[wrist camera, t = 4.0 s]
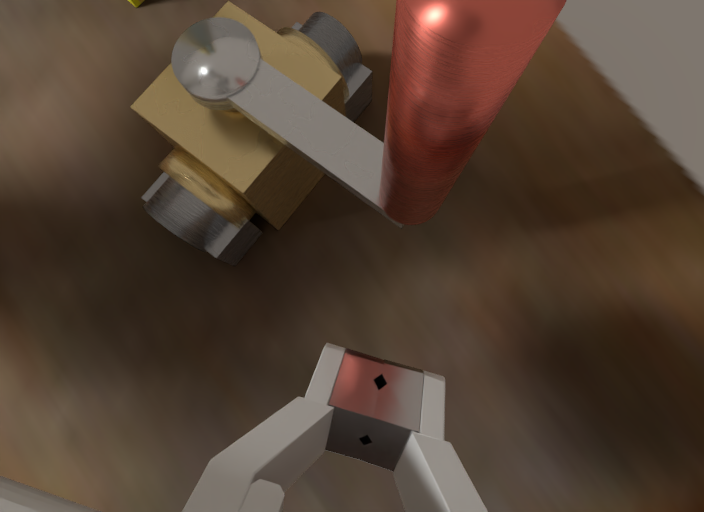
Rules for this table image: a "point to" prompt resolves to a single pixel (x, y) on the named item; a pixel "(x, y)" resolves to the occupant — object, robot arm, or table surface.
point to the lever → (403, 97)
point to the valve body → (246, 139)
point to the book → (136, 2)
